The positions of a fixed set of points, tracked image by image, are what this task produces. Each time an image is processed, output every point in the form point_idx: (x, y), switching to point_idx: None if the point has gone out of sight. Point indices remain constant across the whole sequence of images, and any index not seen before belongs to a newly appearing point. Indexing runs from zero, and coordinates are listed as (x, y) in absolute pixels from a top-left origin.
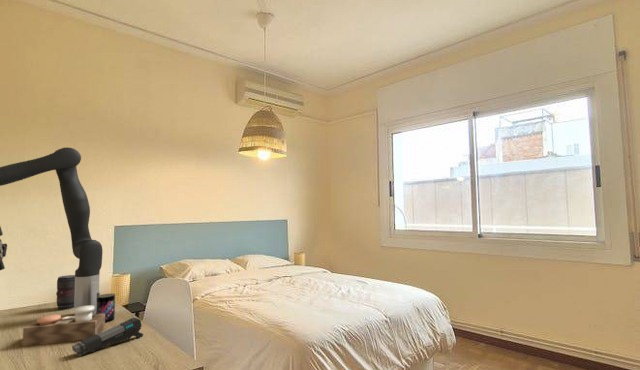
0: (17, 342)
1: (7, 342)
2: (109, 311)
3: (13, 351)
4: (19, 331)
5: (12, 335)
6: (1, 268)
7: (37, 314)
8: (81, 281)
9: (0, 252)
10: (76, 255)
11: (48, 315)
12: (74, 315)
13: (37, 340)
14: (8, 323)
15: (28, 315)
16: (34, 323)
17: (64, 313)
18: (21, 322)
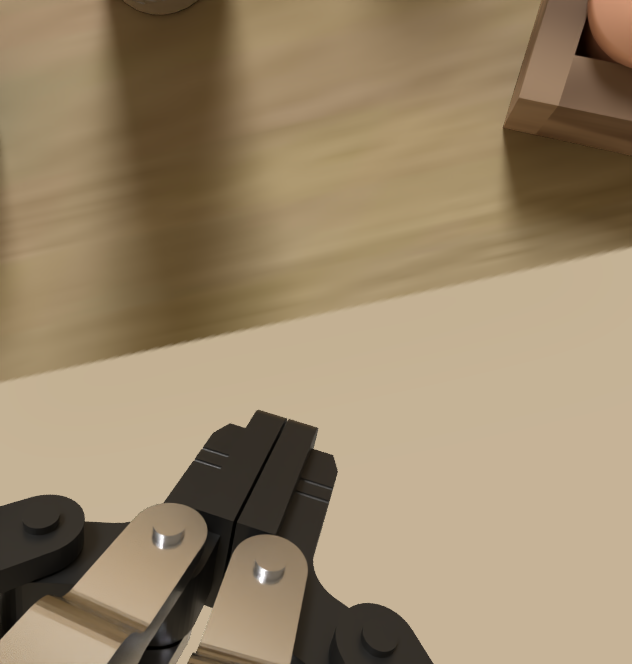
0: (567, 209)
1: (530, 260)
2: None
3: None
4: (337, 249)
5: (399, 267)
6: (311, 441)
7: (21, 235)
8: None
9: (128, 644)
10: None
11: (596, 9)
12: (187, 3)
13: None
14: (134, 341)
15: (19, 277)
16: (626, 98)
17: (77, 87)
18: (150, 281)
